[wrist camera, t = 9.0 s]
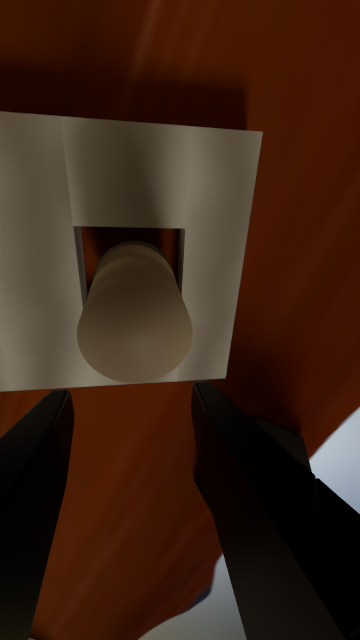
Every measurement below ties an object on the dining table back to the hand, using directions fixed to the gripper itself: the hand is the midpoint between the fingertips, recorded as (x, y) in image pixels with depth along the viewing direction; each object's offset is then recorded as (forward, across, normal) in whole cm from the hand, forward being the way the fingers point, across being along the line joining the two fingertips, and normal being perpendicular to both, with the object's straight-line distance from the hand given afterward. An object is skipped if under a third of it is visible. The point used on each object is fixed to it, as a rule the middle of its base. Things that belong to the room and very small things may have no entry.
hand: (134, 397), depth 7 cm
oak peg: (+11, 0, 0) cm, 11 cm away
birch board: (+11, +5, 0) cm, 12 cm away
